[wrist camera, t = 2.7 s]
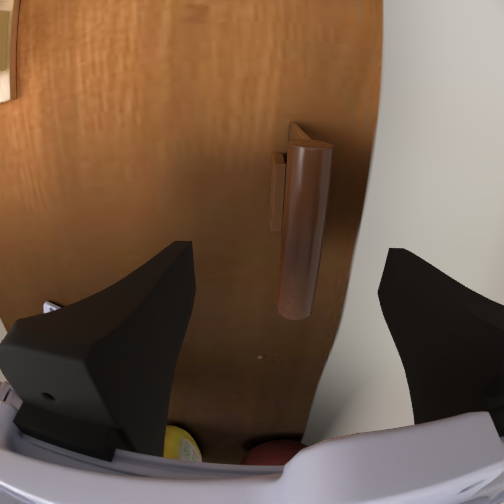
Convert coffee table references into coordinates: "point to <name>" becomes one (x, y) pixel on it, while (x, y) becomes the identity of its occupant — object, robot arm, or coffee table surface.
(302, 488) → the robot arm
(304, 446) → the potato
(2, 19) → the butter
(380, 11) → the coffee table surface
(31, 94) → the coffee table surface
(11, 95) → the board
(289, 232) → the scraper
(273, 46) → the coffee table surface
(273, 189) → the stand
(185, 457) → the bottle
